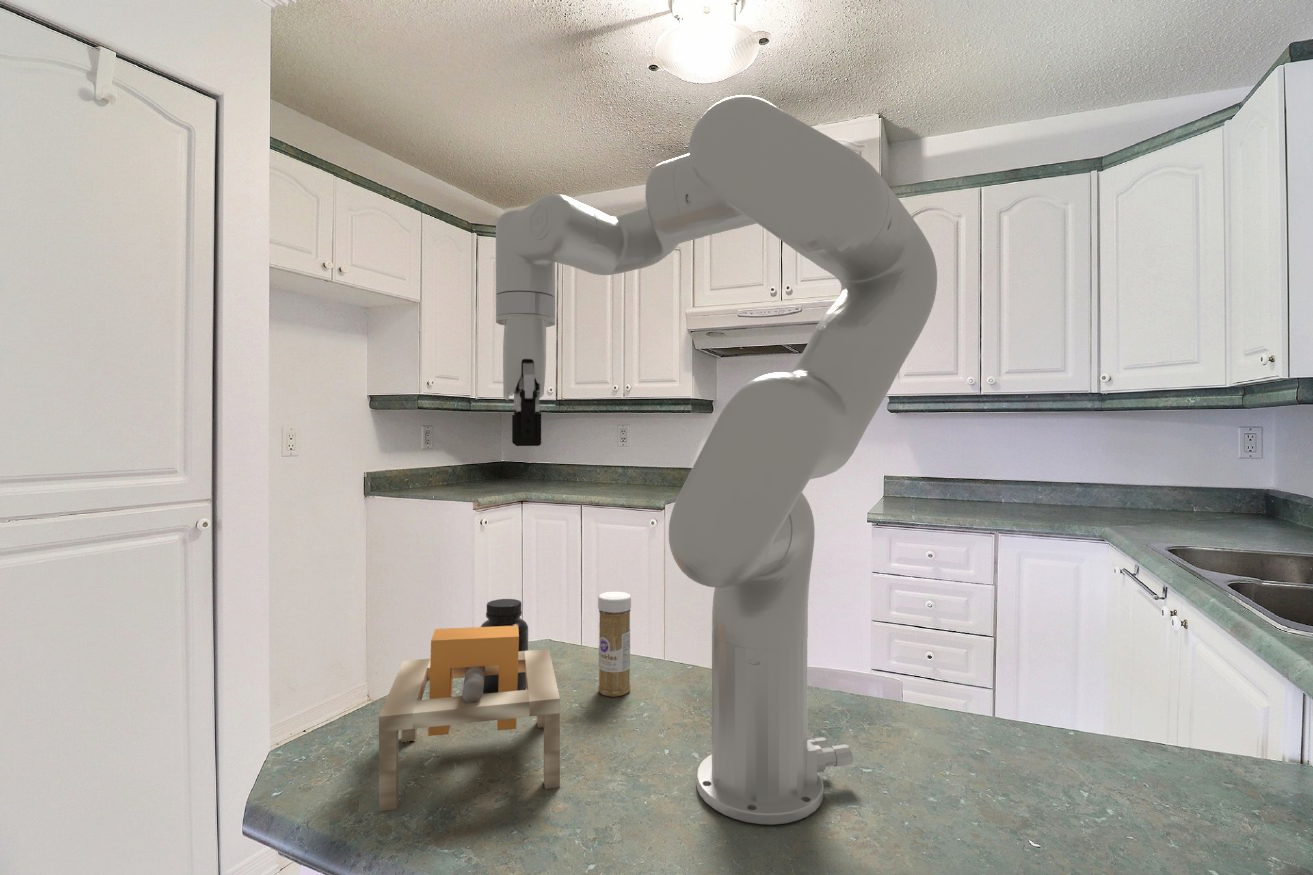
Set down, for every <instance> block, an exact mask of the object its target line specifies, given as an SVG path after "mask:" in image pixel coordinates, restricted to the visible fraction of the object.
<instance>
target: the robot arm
mask: <svg viewBox="0 0 1313 875" xmlns="http://www.w3.org/2000/svg"><path fill="white" fill-rule="evenodd" d="M644 195H645V198H644V199H645V205H646V207H643V208H640V209H638V210H635V211H632V212H628V213H624V214H620V215H617V216H615V215H614V216H610V215H608V214H606V213H604V212H602V211H600V210H598V209H596V208H594V207H591V206H589V205H587V204H585V203H582V202H579V201H578V200H575V199H573V197H570V196H567V195H564V194H561V193H551V194H546V195H544V196H542V197H540V198H538V199H536V200H535V201H534V202H532V203H531V204H529V205H527V206H526V207H525V208H522V209H517V210H516V209H515V210H510V211H506V212H504V213H502V214H501V215H500V216H499V217H498V219H497V221H496V224H495V323H496V324H498V325H501V326H503V328H504V329H503V339H502V372H503V373H502V378H503V379H502V387H503V389H502V390H503V392H502V394H503V395H502V396H503V397H502V398H503V399H505V400H506V401H509V400H510V396H513V414H512V415H511V417H512V418H511V421H512V422H511V427H512V428H511V434H512V436H511V441H512V444H514V445H515V446H517V447H539V446H541V445H542V413H541V412H540V409H541V408H540V407H541V406H540V399H541V398H543V396H544V395H545V384H546V369H547V366H546V365H547V363H546V362H547V328H550V327H552V326H553V327H554V326H555V325H556V263H557V264H561V265H566V266H569V267H573V268H575V269H578V270H581V271H584V272H586V273H588V274H589V273H590V274H593V275H597V276H612V275H618V274H623V273H626V272H627V273H628V272H632V271H636V270H640V269H643V268H644V269H645V268H648V267H651V266H652V265H655V264H657V263H659V262H661V261H663V259H665V258H666V257H667V256H668V255H670V254H671V253H672V252H673V251H674V250H676V248H677V247H678V246H679V245H680V244H683V243H686V242H689V241H693V240H696V239H701V238H704V237H707V236H711V235H715V234H719V233H720V234H721V233H723V232H724V233H725V232H727V231H733V230H736V229H737V230H738V229H741V228H745V227H749V226H752V225H755V224H758V225H759V226H761V227H762V228H763V229H765V230H766V231H768V232H769V233H771V234H772V235H773V236H775V237H776V238H778V239H779V240H781V242H783V243H784V244H786V245H787V246H789V247H790V248H791V249H792V250H794V251H795V252H797V253H798V254H799V255H801V256H803V257H804V258H806V259H807V260H809V261H810V262H812V263H813V264H815V265H816V266H818V268H819V267H820V268H821V269H823V270H824V271H826V272H828V273H830V274H831V275H833V276H834V278H835V279H837V280H838V281H839V284H840V287H841V288H840V292H839V296H838V297H837V299H836V300H835V301H834V303H833V304H832V305H831V306H830V307H829V308H828V309H827V311H826V312H825V313H824V315H823V316H822V317H821V319H820V320H819V322H818V323H817V325H816V327H815V328H814V329H813V332H812V334H811V335H810V338H809V340H808V342H807V345H806V346H805V348H804V350H803V351H802V353H801V355H800V356H799V358H798V360H797V362H795V363H796V364H795V365H794V366H793V368H792V369H791V371H790V372H787V371H786V372H785V371H779V372H772V373H767V374H763V375H761V376H758V377H756V378H753V379H752V380H750V381H749V382H747V383H746V384H744V385H743V386H742V387H741V388H740V389H738V391H737V392H735V394H733V395H732V397H731V398H730V399H729V400H728V402H727V403H726V404H725V406H724V408H723V409H722V411H721V412H720V414H719V416H718V417H717V420H716V421H715V424H714V425H713V427H712V429H711V431H710V432H709V435H708V436H707V438H706V441H705V443H704V444H703V446H702V448H701V451H700V453H699V455H698V457H697V458H696V460H695V462H694V464H693V466H692V468H691V470H690V471H689V473H688V476H687V478H686V479H685V481H684V483H683V485H682V488H681V489H680V491H679V493H678V495H677V497H676V500H675V502H674V505H673V507H672V509H671V510H672V511H671V514H670V518H669V522H668V523H669V524H668V542H669V548H670V552H671V555H672V557H673V560H674V562H675V563H676V565H677V566H678V568H679V569H680V571H681V572H682V573H683V574H684V575H685V576H686V577H687V578H688V579H691V581H693V582H695V583H697V584H698V585H702V586H706V587H709V588H714V592H713V597H712V610H711V754H710V755H708V756H707V757H705V758H704V759H703V760H702V761H701V762H700V764H699V765H698V767H697V769H696V778H695V779H696V780H695V781H696V782H695V783H696V789H697V791H698V794H699V796H700V797H701V798H702V800H703V801H704V802H705V803H706V804H707V805H709V806H710V807H711V808H712V809H714V810H715V811H717V812H719V813H721V814H722V815H724V816H727V817H728V818H732V819H734V820H738V821H741V822H745V823H749V824H757V825H783V824H790V823H794V822H798V821H801V820H802V819H804V818H808V817H809V816H810V815H811V814H813V813H814V812H815V811H817V809H818V808H819V807H820V806H821V804H822V802H823V800H824V780H823V779H822V776H821V774H820V773H823V772H825V770H826V768H830V767H834V768H836V767H842V766H849V765H852V764H853V760H854V759H853V758H854V757H853V754H852V753H853V752H852V750H851V747H850V746H849V745H848V744H846V743H844V744H837V745H836V744H835V745H829V743H828V740H827V738H826V737H825V736H821V737H813V738H810V739H809V738H808V637H809V636H808V635H809V634H808V633H809V630H808V629H809V626H808V625H809V624H808V623H809V622H808V621H809V592H810V591H809V590H810V580H811V571H812V561H813V556H814V554H813V553H814V545H815V520H814V514H813V511H812V508H811V506H810V503H809V501H808V499H807V497H806V496H805V495H804V494H803V492H804V490H805V488H806V486H807V485H808V484H809V482H810V480H814V479H818V478H823V477H825V476H829V475H831V474H833V473H835V472H837V471H838V470H839V469H841V468H842V467H844V466H845V465H846V464H847V462H848V461H849V460H850V458H851V457H852V456H853V454H854V453H855V450H856V448H857V447H858V445H859V443H860V441H861V439H862V438H863V436H864V435H865V434H864V433H865V432H866V430H867V428H868V426H869V424H870V422H872V420H873V418H874V416H875V415H876V413H877V411H878V410H879V408H880V406H881V404H882V403H883V401H884V399H885V397H886V395H887V394H888V392H889V390H890V389H891V387H892V385H893V383H894V381H895V380H896V377H897V375H898V373H899V372H900V370H901V369H902V366H903V365H904V363H905V361H906V359H907V358H908V356H909V354H910V353H911V351H912V349H913V348H914V346H915V344H916V342H917V341H918V338H919V337H920V335H921V334H922V332H923V330H924V328H925V326H926V324H927V321H928V320H929V317H930V314H931V313H932V310H933V307H934V304H935V301H936V300H935V299H936V295H937V289H938V269H937V263H936V258H935V255H934V252H933V249H932V247H931V245H930V243H929V241H928V239H927V237H926V236H925V234H924V232H923V231H922V229H921V228H920V227H919V225H918V223H917V222H916V221H915V219H914V218H913V217H912V215H911V214H910V213H909V211H908V210H907V208H906V207H905V206H904V204H903V203H902V201H901V200H900V199H899V197H898V196H897V195H896V194H895V193H894V191H892V189H891V188H890V186H889V185H888V183H887V182H886V180H885V179H884V178H883V177H882V175H881V174H880V173H879V172H878V171H877V169H876V168H875V167H874V166H873V165H872V164H871V163H870V162H869V161H867V160H866V159H865V158H864V157H863V156H862V155H860V154H859V153H857V152H855V151H854V150H852V149H851V148H849V147H848V146H845V145H844V144H842V143H841V142H838V141H837V140H835V139H833V137H832V138H831V137H830V136H828V135H826V134H824V132H823V133H822V132H821V131H819V130H818V129H815V128H814V127H812V126H810V125H808V124H807V123H805V122H804V121H801V120H800V119H798V118H796V117H795V116H793V115H791V114H789V113H788V112H786V111H785V110H783V109H781V108H779V107H778V106H776V105H774V104H773V103H771V102H770V101H767V100H765V99H763V98H760V97H757V96H753V95H735V96H730V97H726V98H724V99H721V100H720V101H718V102H716V103H715V104H713V105H712V106H711V107H709V108H708V109H706V111H705V112H704V113H703V114H702V115H701V116H700V117H699V119H698V121H697V122H696V124H695V125H694V127H693V130H692V132H691V135H690V138H689V143H688V153H686V154H684V155H680V156H678V157H675V158H671V159H668V160H666V161H665V160H664V161H662V162H659V163H658V164H656V165H655V166H654V167H653V168H652V169H651V170H650V172H649V174H648V176H647V179H646V182H645V194H644Z"/></svg>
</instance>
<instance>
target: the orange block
mask: <svg viewBox="0 0 1313 875" xmlns="http://www.w3.org/2000/svg"><path fill="white" fill-rule="evenodd" d="M518 651H519V629H518V626H495V627H481V626H475V627H474V626H473V627H454V628H453V627H451V628H447V627H446V628H435V629H434V630H433V634H432V637H431V640H430V659H431V660H430V681H429V692H428V693H429V697H428V699H436V698H447V697H453V684H454V682H453V681H454V680H453V668H460V667H479V666H497V665H499V684H498V693H499V692H509V691H517V685H518ZM517 719H518V718H511V719H501V720H496V721H497V722H496V723H497V725H496V727H497V728H496V731H507V730H509V731H510V730H517ZM450 728H451V725H445V726H436V727H427V729H428V733H427V735H428V737H429V736H430V737H433V736H444V735H446V736H447V735H449V732H450Z"/></svg>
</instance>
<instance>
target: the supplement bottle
mask: <svg viewBox="0 0 1313 875" xmlns="http://www.w3.org/2000/svg"><path fill="white" fill-rule="evenodd" d="M522 615H523V611H522V601H521V600H518V599H515V598H500V599H499V598H498V599H494V600H490V601H488V602H487V603H486V613H485V617H486V618H487V620H486V621H484V622H483V623H482V624H481V626H480V627H495V626H518V629H519V651H529V626H528V623H527V622H526V621H525V620H524V619H523V618H521V617H522ZM498 684H499V674H498V675H487V676H484V687H483V694H488V693H498ZM525 688H527V684H526V674H525V672H520V673H518V685H517V691H519V690H525Z"/></svg>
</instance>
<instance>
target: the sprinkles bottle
mask: <svg viewBox="0 0 1313 875" xmlns="http://www.w3.org/2000/svg"><path fill="white" fill-rule="evenodd" d="M597 598H598V600H597V608H598V613H599V622H598V623H599V628H598V629H599V632H598V634H599V635H598V636H599V640H598V641H599V642H598V643H599V645H598V671H599V672H598V687H597V689H598V692H599V693H600V694H602V695H603V696H606V697H613V698H615V697H622V696H623V695H624V696H625V694H626V695H627V693H628V692H630V690H631V683H630V680H631V679H630V677H631V676H630V674H631V673H630V668H631V622H630V621H631V620H630V618H631V617H630V616H631V615H630V614H631V613H630V612H631V608H632V596H631V594H629V593H628V592H624V591H606V592H603V593H600V594H599V595H598V597H597Z"/></svg>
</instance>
